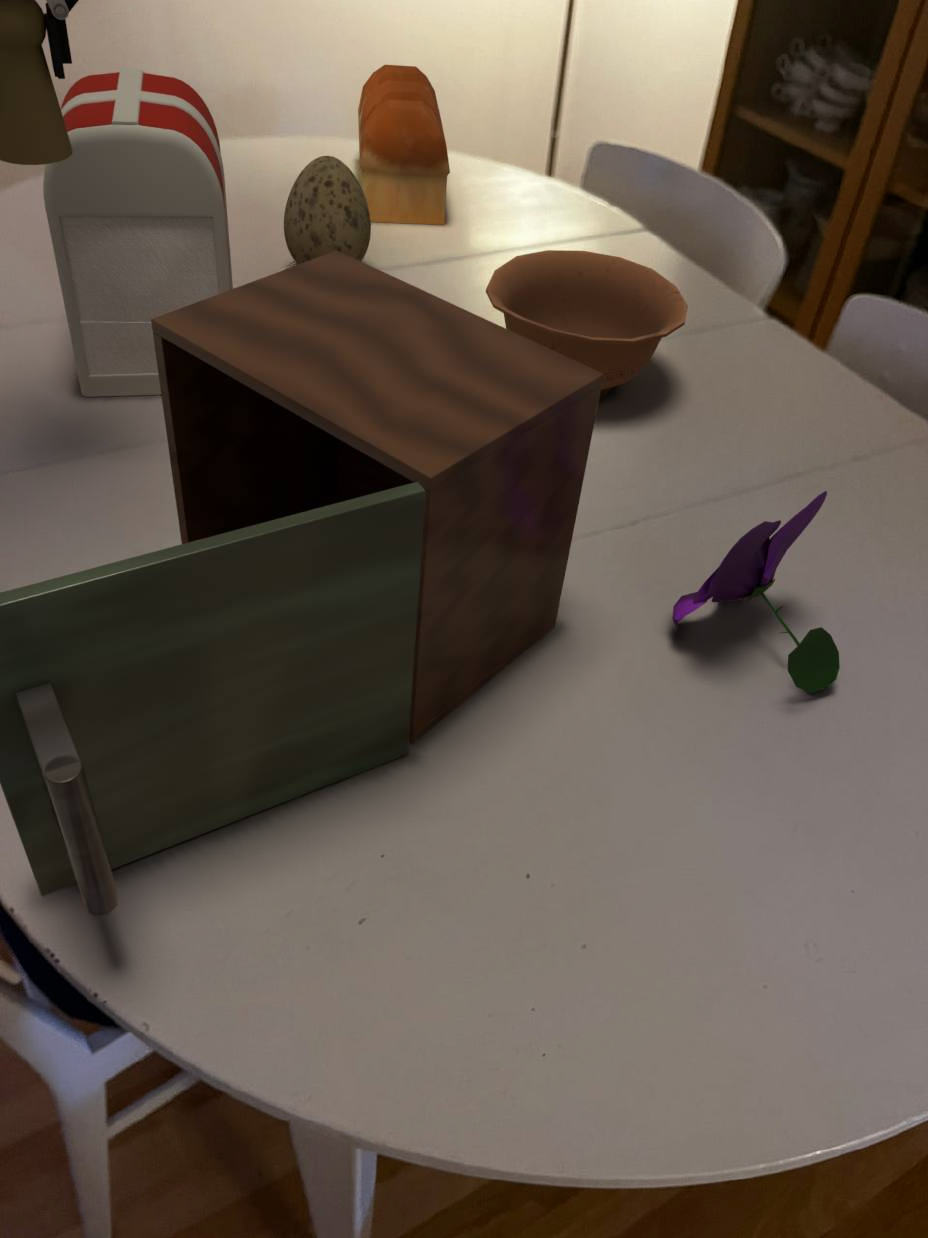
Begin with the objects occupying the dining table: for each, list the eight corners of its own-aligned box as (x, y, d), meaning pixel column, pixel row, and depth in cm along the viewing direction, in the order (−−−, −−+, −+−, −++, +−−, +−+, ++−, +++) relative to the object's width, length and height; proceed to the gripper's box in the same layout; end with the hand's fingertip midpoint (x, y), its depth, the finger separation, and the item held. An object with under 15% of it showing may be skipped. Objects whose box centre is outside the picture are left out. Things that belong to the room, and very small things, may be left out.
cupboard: (411, 745, 76) (430, 478, 59) (186, 581, 87) (150, 318, 71) (555, 627, 86) (604, 373, 70) (338, 494, 98) (337, 249, 81)
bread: (446, 225, 147) (453, 116, 137) (359, 222, 146) (360, 111, 136) (435, 163, 165) (440, 63, 155) (357, 159, 164) (358, 58, 154)
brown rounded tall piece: (10, 169, 78) (-23, 6, 71) (-20, 145, 82) (-55, -14, 74) (85, 158, 81) (61, 0, 74) (53, 135, 85) (27, -18, 77)
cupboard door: (455, 823, 71) (487, 559, 54) (71, 989, 60) (-29, 721, 44) (402, 744, 75) (417, 480, 59) (37, 885, 65) (-64, 608, 48)
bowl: (445, 395, 113) (452, 301, 105) (521, 317, 128) (532, 231, 120) (634, 454, 107) (656, 360, 99) (690, 366, 122) (713, 278, 115)
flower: (821, 677, 92) (733, 554, 94) (951, 611, 79) (847, 471, 81) (721, 754, 84) (628, 619, 86) (847, 695, 71) (735, 538, 73)
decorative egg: (353, 302, 127) (354, 179, 117) (272, 285, 129) (266, 162, 118) (380, 268, 135) (384, 150, 125) (304, 253, 136) (301, 135, 126)
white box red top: (79, 397, 106) (24, 122, 88) (90, 318, 119) (44, 63, 101) (240, 392, 110) (220, 126, 91) (235, 315, 122) (216, 68, 104)
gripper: (-196, -244, 60) (-108, 89, 73) (105, -219, 66) (140, 87, 78) (-185, -253, 66) (-104, 60, 78) (94, -229, 71) (129, 60, 83)
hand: (18, 71), depth 78 cm, fingers closed on brown rounded tall piece, 5 cm apart
